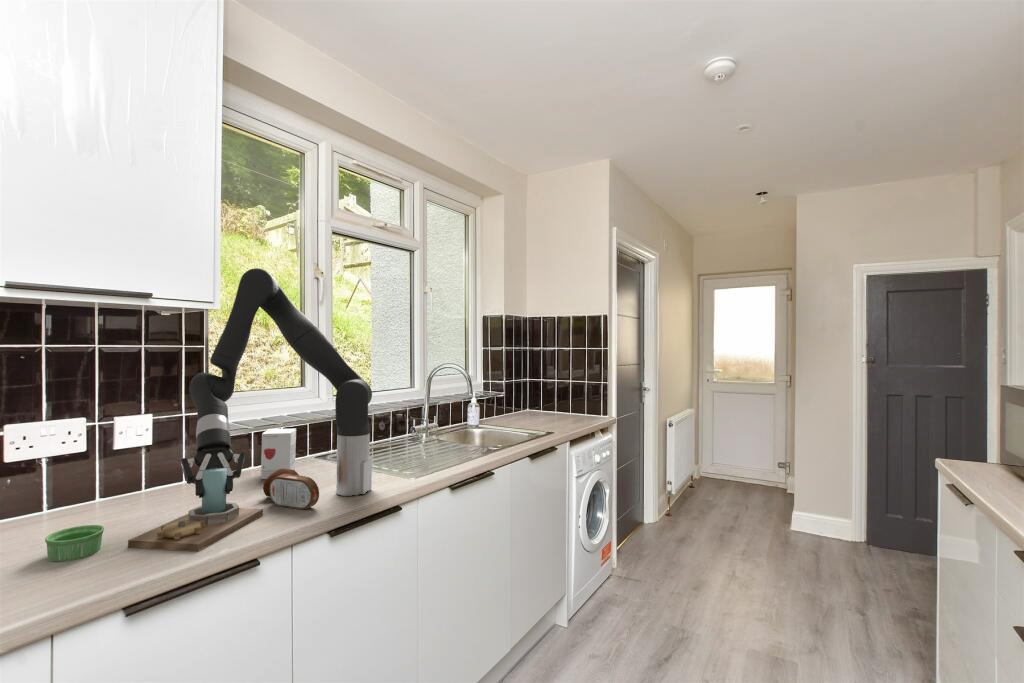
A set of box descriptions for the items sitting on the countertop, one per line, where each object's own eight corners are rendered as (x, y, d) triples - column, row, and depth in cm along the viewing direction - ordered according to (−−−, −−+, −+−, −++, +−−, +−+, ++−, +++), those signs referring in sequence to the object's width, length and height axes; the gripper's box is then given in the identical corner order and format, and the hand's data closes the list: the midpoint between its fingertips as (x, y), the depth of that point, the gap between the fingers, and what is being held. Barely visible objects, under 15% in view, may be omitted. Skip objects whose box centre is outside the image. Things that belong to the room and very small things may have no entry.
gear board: (262, 515, 122) (263, 499, 122) (198, 551, 100) (198, 532, 100) (204, 512, 124) (204, 496, 124) (127, 547, 102) (128, 528, 102)
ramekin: (35, 566, 93) (35, 544, 93) (57, 548, 101) (57, 527, 101) (93, 559, 96) (94, 537, 96) (110, 542, 105) (110, 522, 105)
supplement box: (259, 479, 154) (260, 433, 155) (267, 472, 163) (267, 428, 163) (290, 478, 156) (291, 432, 157) (295, 471, 165) (296, 428, 165)
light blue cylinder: (230, 506, 118) (231, 467, 118) (216, 513, 113) (217, 473, 113) (211, 505, 119) (212, 467, 119) (196, 512, 114) (197, 472, 114)
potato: (309, 492, 142) (309, 465, 142) (276, 503, 132) (276, 474, 132) (290, 488, 145) (291, 462, 145) (256, 499, 135) (257, 471, 135)
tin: (319, 508, 128) (320, 477, 128) (311, 512, 125) (311, 480, 125) (275, 502, 133) (276, 471, 133) (266, 505, 130) (266, 474, 130)
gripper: (179, 429, 118) (178, 490, 108) (246, 424, 127) (250, 481, 116) (179, 447, 123) (178, 507, 113) (243, 441, 131) (247, 497, 121)
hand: (214, 494), depth 115 cm, fingers closed on light blue cylinder, 5 cm apart
